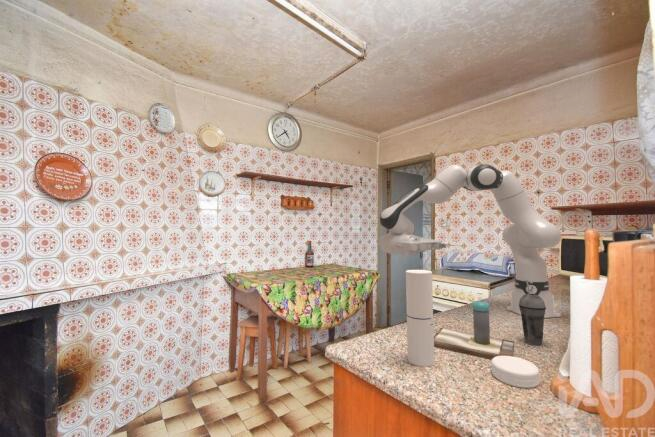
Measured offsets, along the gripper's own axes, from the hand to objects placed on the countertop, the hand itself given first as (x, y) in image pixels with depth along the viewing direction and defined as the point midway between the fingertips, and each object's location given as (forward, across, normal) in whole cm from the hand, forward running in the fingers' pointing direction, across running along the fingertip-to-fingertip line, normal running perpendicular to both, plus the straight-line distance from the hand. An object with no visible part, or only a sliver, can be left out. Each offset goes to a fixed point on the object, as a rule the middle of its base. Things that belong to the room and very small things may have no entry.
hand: (438, 246), depth 111 cm
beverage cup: (+28, +8, +30) cm, 42 cm away
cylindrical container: (+15, -31, +30) cm, 46 cm away
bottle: (+20, -9, +28) cm, 36 cm away
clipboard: (+18, -10, +30) cm, 36 cm away
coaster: (+34, -20, +30) cm, 50 cm away
